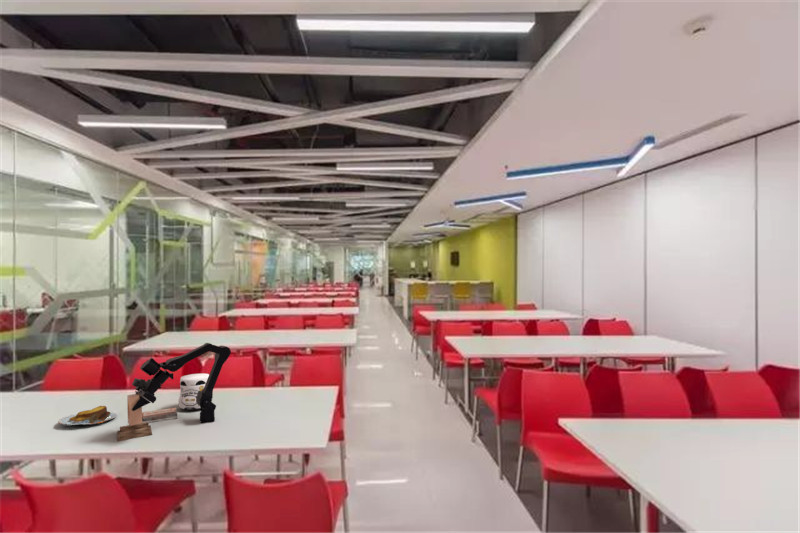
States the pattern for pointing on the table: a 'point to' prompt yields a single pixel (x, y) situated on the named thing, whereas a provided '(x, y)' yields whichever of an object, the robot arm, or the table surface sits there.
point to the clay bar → (136, 415)
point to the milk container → (191, 390)
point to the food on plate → (88, 417)
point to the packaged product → (159, 415)
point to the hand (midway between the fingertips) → (131, 409)
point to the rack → (134, 431)
